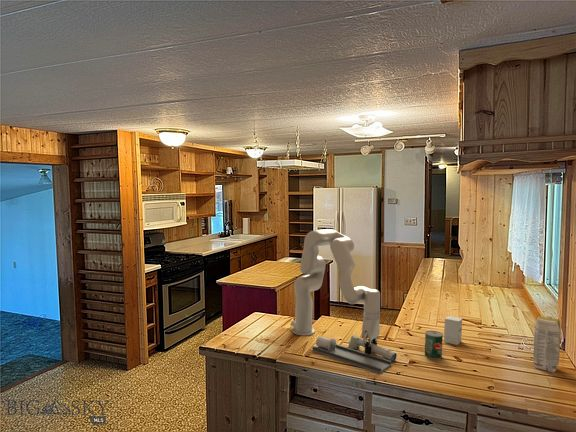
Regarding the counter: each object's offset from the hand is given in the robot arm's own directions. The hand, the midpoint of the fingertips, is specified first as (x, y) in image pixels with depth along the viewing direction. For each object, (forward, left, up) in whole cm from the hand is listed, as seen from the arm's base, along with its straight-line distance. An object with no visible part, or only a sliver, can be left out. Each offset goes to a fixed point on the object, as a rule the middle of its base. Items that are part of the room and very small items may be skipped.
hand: (370, 351), depth 188 cm
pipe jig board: (-4, -12, -1) cm, 13 cm away
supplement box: (+25, +44, -1) cm, 51 cm away
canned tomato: (+24, +18, -1) cm, 30 cm away
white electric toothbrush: (0, 0, -1) cm, 1 cm away
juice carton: (+67, +39, -1) cm, 77 cm away
